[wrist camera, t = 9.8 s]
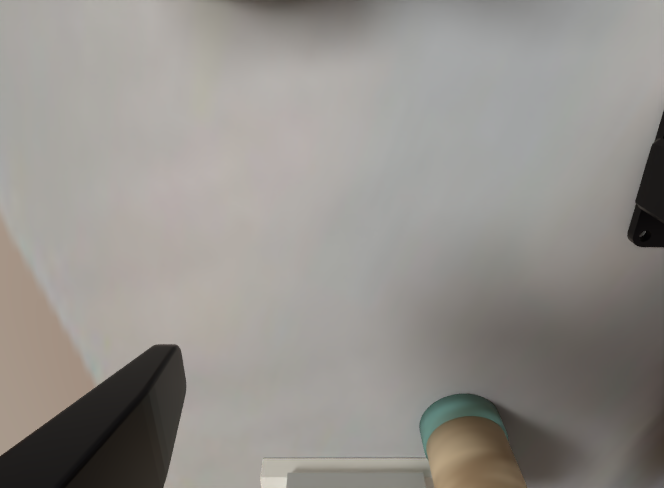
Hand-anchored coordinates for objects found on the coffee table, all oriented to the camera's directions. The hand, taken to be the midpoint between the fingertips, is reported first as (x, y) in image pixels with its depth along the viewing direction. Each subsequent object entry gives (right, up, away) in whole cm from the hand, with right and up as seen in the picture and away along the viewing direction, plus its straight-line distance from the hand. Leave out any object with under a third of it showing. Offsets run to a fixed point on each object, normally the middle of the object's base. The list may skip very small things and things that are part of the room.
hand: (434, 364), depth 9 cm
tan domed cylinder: (+5, -7, +17) cm, 19 cm away
